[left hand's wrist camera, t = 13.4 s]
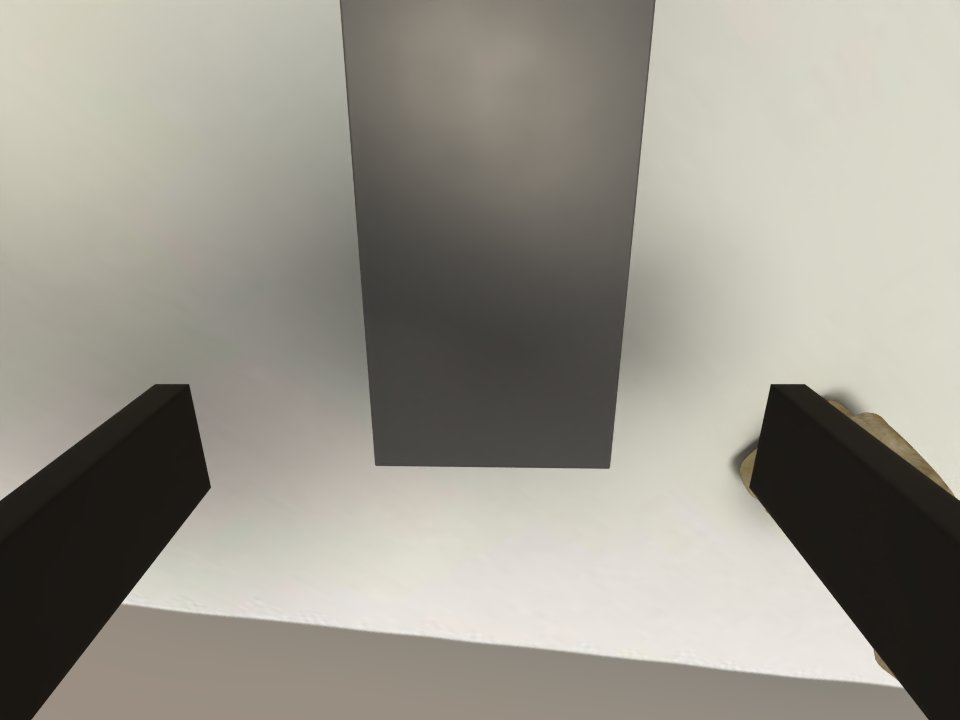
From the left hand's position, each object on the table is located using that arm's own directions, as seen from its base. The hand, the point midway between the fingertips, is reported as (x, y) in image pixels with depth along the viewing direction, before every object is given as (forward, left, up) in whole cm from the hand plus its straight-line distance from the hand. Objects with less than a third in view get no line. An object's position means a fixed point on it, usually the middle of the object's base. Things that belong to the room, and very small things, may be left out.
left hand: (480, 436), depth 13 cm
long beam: (-3, +32, -16) cm, 35 cm away
